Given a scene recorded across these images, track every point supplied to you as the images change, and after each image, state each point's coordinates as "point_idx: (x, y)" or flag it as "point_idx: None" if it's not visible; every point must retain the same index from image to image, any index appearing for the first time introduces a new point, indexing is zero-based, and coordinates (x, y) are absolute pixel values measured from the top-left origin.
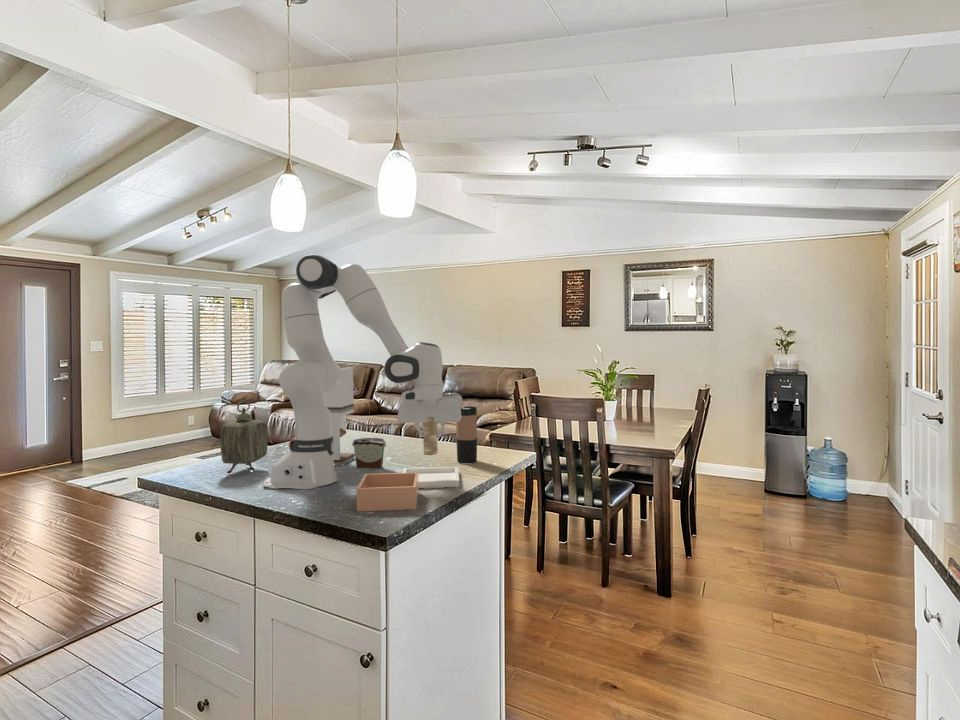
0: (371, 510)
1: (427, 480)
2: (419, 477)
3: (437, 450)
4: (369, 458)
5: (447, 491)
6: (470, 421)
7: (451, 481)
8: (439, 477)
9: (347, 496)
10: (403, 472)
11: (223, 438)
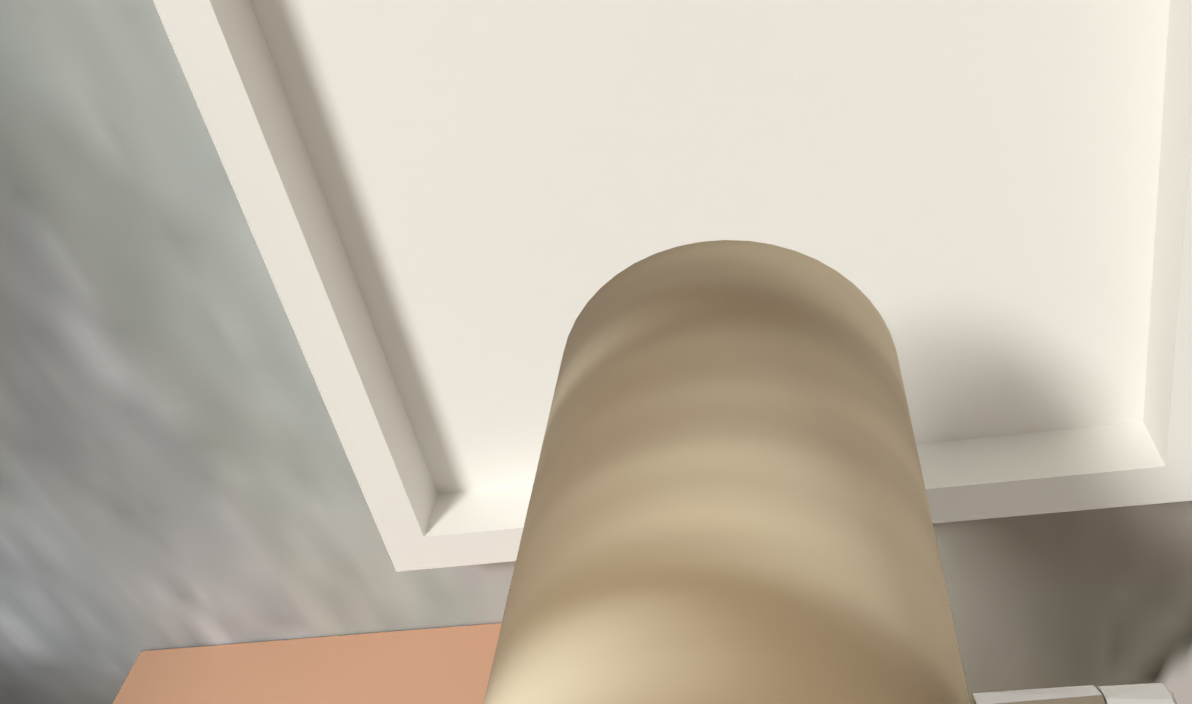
0: None
1: (688, 239)
2: (511, 73)
3: (909, 414)
4: None
5: (1008, 571)
6: None
7: (1088, 503)
8: (866, 53)
9: (20, 694)
10: (206, 91)
11: None
